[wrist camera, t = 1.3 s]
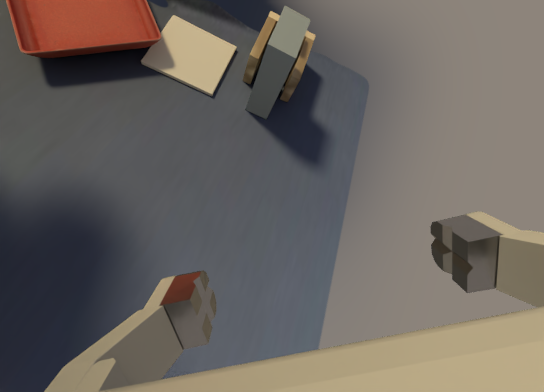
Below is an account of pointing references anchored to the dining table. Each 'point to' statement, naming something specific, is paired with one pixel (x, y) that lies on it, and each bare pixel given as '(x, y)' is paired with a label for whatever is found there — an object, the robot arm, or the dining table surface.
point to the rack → (260, 50)
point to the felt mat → (190, 55)
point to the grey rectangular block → (277, 61)
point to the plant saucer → (81, 26)
